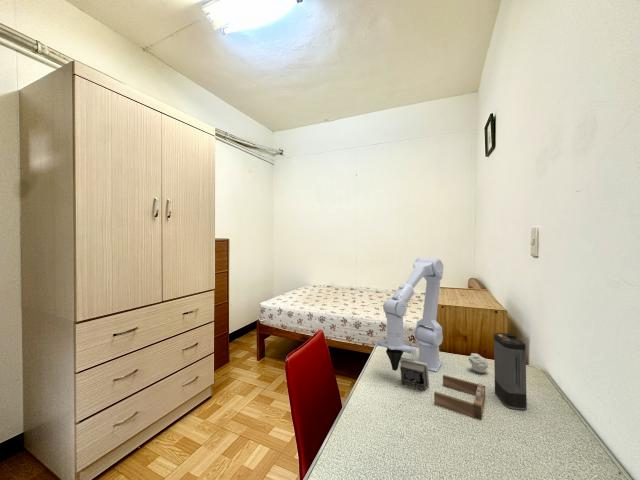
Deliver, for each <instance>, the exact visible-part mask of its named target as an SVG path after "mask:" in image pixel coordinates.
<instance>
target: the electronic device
mask: <svg viewBox="0 0 640 480" xmlns="http://www.w3.org/2000/svg"><path fill="white" fill-rule="evenodd" d="M526 345H527V344H526V343H525V341H523V340H517V336H515V334H512V333H505V332H494V334H493V348H494V349H493V354H494V355H493V356H494V359H493V361H494V366H493V368H494V394H495V395H496V397H497V398H498V399H499V400H500V401H501V402H502V403H503V405H504V406H506V407H507V408H508V409H513V410H522V411H526V410H527V409H528V408H527V406H528V405H527V404H528V403H527V401H528V399H527V357H526V356H527V352H526V351H527V350H526V349H527V348H526Z"/></svg>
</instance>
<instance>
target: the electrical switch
mask: <svg viewBox="0 0 640 480" xmlns="http://www.w3.org/2000/svg"><path fill="white" fill-rule="evenodd" d="M399 364H400V366H399V367H400V377H401V385H403V386H406V387H408V388H412V389H416V390H421V391H422V392H425V390H426V388H429V387H430V380H429V379H430V378H429V370H428V365H427V364H426V363H423V362H419V360H414V359H409V358H405V357H401V359H400V361H399Z"/></svg>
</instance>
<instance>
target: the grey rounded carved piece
mask: <svg viewBox="0 0 640 480" xmlns="http://www.w3.org/2000/svg"><path fill="white" fill-rule="evenodd" d="M467 358H468V361H469V362H470V363H469V364H471V368H472V369H473V371H475V372H477V373H479V374H482V373H485V372H486V370H487V369H489V362H488V360H487V359H486V358H485V357H483V356H481V355H480V354H478V353H472V352H471V353H470V355H469V356H468V357H467Z"/></svg>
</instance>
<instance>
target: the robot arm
mask: <svg viewBox="0 0 640 480" xmlns="http://www.w3.org/2000/svg"><path fill="white" fill-rule="evenodd" d="M412 265H413V266H412V267H413V269H412V271H411V273H410V274H409V276H408V278H407V280H406V282H405V283H401V284H399V286H398V288H397V289H396V291H395V292H394V293H393V295H392V297H391V298H388V299H386V300H385V302H384V303H383V304H384V305H383V306H382V308H383V312H384V313H385V316H384V317H385V318H386V340H385V339H376V340H375V346H376V347H382V348H386V350H385V353H386V355H387V358H389V362H390V364H391V365H390V366H391V369H392V371H398V369H399V365H400V359H401V358H402V356H403V354H404V353H407V354H410V355H412V356H415V355H416V353H417V348H416V347H413V346H412V345H408V344H405V343H404V316H405V315H406V313H407V309H408V305H409V304H408V303H409V301H410V300H411V298H413V296H414V294H415V291H414V290H415V289H414V288H415V287H416V286H417V285H418V283H419V282H420V281H421V280H422V279H423V278H424V279H425V281H426V283H425V284H426V285H425V293H424V294H425V295H424V302H423V303H424V304H423V311H422V318H421V319H418V321H416V326H415V329H414V331H413V334H414V339H415V340H416V343H418V361H419V362H423V363H426V364H427V365H428V371H432V372H436V373H437V372H438V370H439V369H440V366H441V365H442V361H440V347H439V346H441V344H442V343H443V339H444V337H443V327H442V325H440V323H439V322H438V321H437V318H438V317H437V315H438V307H439V305H438V304H439V299H440V298H439V296H440V290H441V289H440V287H441V280H443V275H444V267H445V266H444V263H443V262H442V259H440V258H430V257H429V258H427V257H426V258H424V257H417V258H416V259H415V260H414V262H413V264H412Z"/></svg>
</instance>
